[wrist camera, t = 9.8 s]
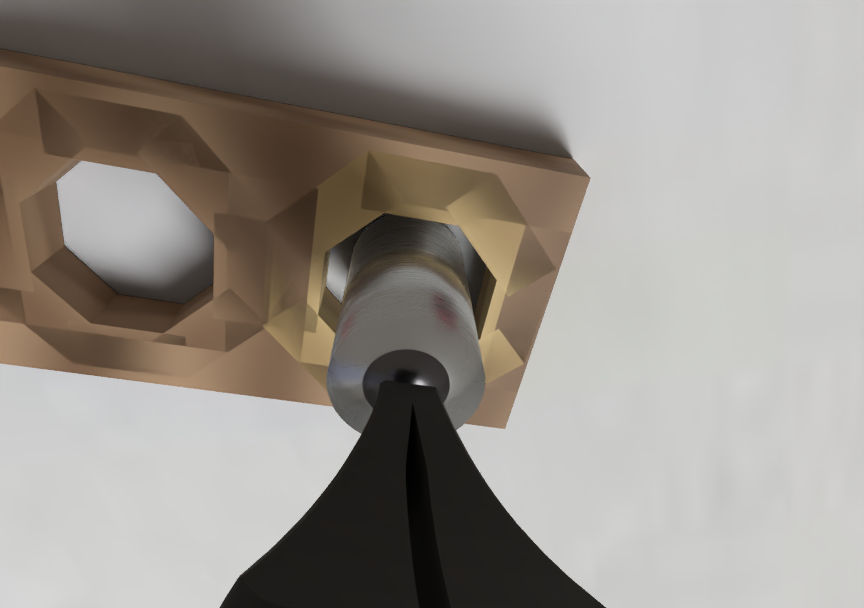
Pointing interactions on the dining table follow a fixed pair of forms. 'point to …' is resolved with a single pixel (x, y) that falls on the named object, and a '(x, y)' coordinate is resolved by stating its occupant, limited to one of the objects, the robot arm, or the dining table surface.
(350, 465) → the robot arm
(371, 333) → the bushing
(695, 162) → the dining table surface
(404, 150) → the jig plate
